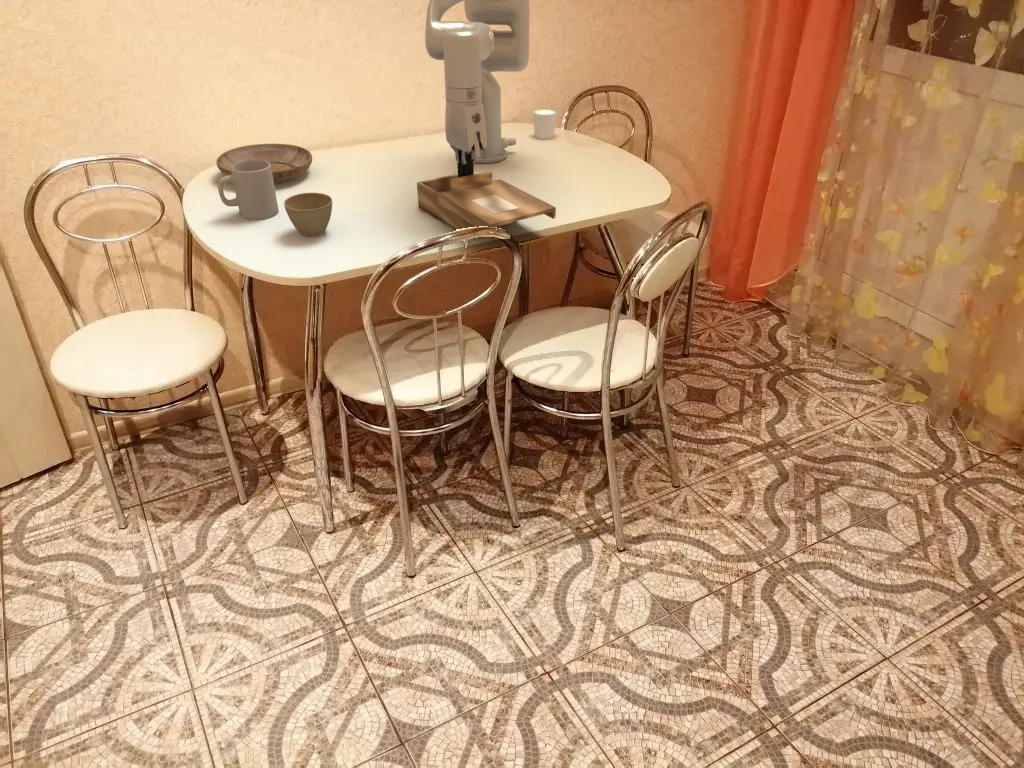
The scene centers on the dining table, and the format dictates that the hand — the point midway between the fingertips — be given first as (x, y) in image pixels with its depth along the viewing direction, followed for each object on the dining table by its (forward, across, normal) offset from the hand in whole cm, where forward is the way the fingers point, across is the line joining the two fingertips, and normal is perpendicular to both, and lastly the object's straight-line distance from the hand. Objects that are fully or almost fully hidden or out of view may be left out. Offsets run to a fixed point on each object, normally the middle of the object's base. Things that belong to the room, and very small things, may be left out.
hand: (465, 179), depth 171 cm
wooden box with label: (+3, -12, 0) cm, 12 cm away
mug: (+8, +28, +40) cm, 50 cm away
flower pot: (+8, +10, +33) cm, 35 cm away
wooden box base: (+8, 0, 0) cm, 8 cm away
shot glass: (+8, +39, -51) cm, 65 cm away
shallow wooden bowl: (+8, +51, +28) cm, 59 cm away
